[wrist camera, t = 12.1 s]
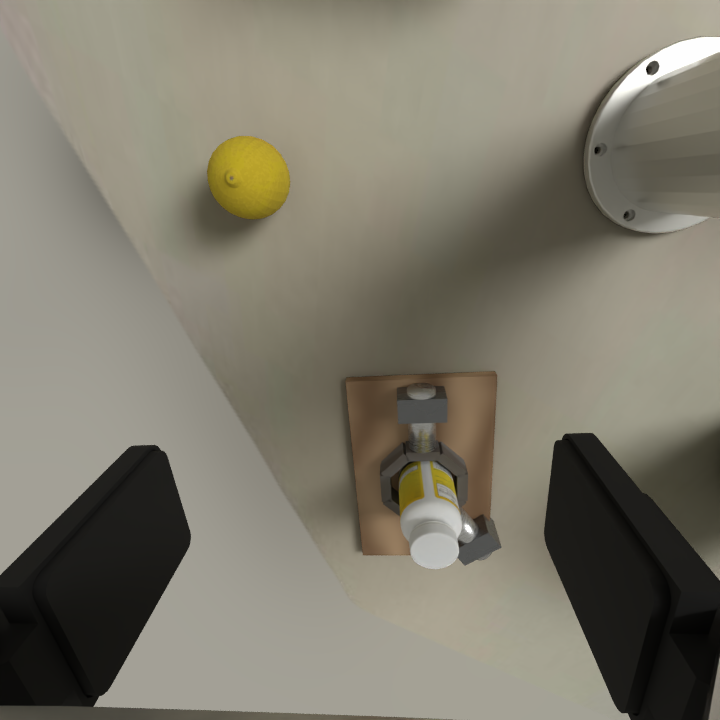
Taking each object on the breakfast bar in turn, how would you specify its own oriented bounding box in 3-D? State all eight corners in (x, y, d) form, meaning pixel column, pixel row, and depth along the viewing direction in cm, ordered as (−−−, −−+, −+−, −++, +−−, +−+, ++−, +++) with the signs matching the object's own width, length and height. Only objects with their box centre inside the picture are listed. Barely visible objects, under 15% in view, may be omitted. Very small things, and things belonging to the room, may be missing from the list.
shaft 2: (430, 507, 46) (433, 532, 42) (464, 488, 44) (470, 512, 41) (461, 541, 47) (467, 567, 44) (495, 523, 46) (503, 549, 43)
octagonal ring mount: (494, 371, 39) (502, 385, 36) (486, 547, 47) (491, 570, 44) (346, 377, 40) (343, 391, 38) (363, 548, 49) (361, 570, 46)
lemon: (276, 229, 35) (245, 240, 28) (220, 187, 34) (173, 186, 27) (312, 172, 34) (290, 168, 26) (254, 125, 33) (214, 107, 25)
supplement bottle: (398, 495, 44) (400, 574, 35) (398, 452, 42) (400, 524, 33) (450, 496, 44) (466, 576, 35) (452, 452, 42) (470, 526, 33)
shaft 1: (442, 431, 42) (447, 452, 39) (399, 432, 42) (399, 453, 39) (442, 377, 40) (447, 394, 36) (396, 379, 40) (396, 396, 37)
